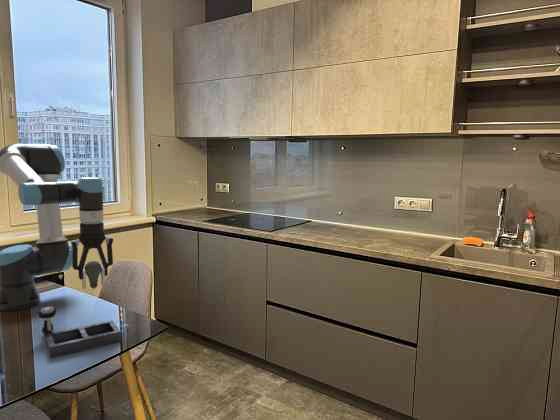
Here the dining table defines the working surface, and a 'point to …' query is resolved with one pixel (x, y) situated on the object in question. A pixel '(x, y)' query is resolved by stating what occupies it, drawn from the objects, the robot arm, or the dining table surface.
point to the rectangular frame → (82, 338)
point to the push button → (47, 319)
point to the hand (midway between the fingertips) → (93, 286)
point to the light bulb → (93, 272)
